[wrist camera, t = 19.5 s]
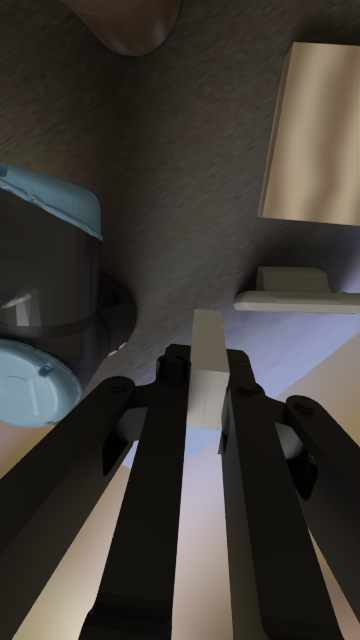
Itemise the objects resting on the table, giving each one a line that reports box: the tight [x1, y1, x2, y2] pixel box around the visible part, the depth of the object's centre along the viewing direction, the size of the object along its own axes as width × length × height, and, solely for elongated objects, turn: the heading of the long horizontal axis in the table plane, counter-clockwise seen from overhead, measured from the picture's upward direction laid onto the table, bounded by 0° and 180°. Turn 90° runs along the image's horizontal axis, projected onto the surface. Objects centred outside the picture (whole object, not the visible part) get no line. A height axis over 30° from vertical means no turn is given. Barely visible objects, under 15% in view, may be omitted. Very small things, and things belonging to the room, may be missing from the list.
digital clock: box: [233, 266, 360, 314], centre depth 41 cm, size 16×9×11 cm, turn 79°
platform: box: [257, 42, 360, 226], centre depth 36 cm, size 13×18×4 cm
